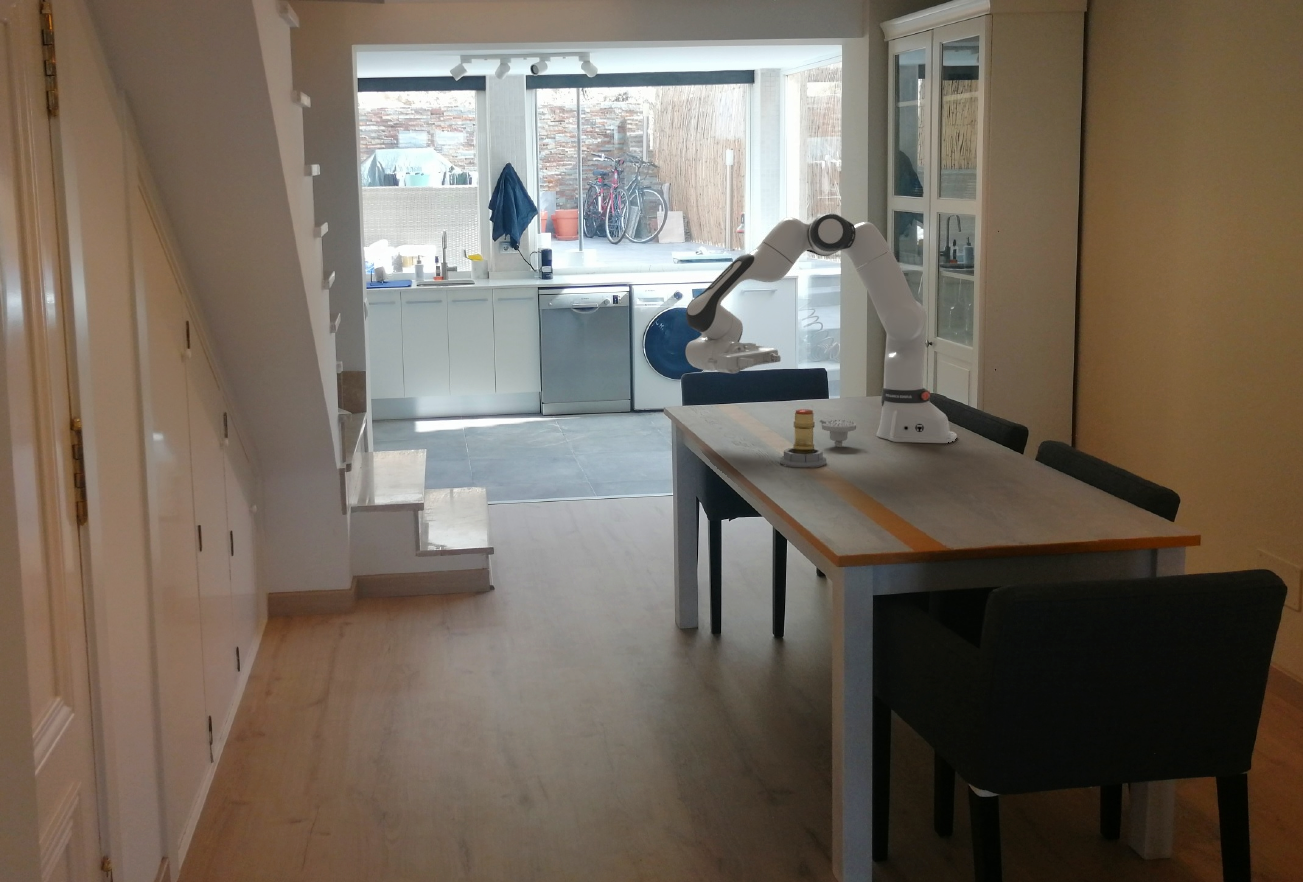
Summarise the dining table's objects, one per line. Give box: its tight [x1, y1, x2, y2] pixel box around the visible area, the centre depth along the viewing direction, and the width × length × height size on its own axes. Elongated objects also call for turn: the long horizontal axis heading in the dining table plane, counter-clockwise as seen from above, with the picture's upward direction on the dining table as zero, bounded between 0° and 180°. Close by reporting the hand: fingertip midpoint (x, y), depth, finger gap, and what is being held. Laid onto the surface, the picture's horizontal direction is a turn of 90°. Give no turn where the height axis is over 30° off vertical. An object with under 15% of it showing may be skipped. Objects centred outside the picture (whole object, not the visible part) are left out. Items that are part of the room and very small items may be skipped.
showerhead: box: [819, 419, 857, 448], centre depth 348 cm, size 9×7×10 cm
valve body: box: [792, 408, 815, 454], centre depth 326 cm, size 5×5×13 cm
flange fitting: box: [779, 447, 827, 468], centre depth 327 cm, size 12×12×3 cm
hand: (766, 360), depth 339 cm, fingers open, 8 cm apart
